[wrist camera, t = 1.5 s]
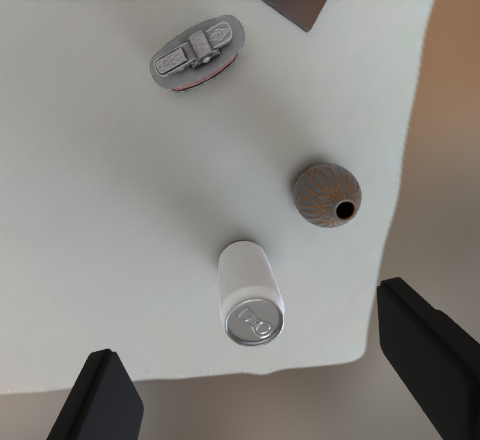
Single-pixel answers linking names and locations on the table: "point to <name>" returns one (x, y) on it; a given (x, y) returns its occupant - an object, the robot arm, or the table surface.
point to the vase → (327, 195)
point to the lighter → (198, 54)
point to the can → (249, 295)
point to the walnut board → (298, 11)
